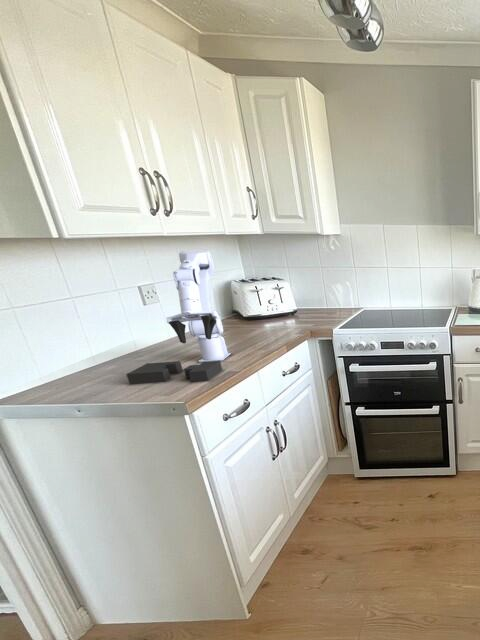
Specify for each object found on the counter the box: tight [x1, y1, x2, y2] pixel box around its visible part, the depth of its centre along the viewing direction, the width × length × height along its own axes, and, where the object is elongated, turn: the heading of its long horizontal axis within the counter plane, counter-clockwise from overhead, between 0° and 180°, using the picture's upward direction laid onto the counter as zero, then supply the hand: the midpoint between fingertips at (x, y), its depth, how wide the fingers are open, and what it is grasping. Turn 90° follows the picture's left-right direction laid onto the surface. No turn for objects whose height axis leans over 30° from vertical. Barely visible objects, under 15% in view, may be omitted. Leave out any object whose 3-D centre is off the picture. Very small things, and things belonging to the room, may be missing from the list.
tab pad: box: [183, 361, 223, 383], centre depth 141 cm, size 12×8×4 cm, turn 15°
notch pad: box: [126, 360, 184, 385], centre depth 140 cm, size 12×10×4 cm
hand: (195, 340), depth 139 cm, fingers open, 7 cm apart
